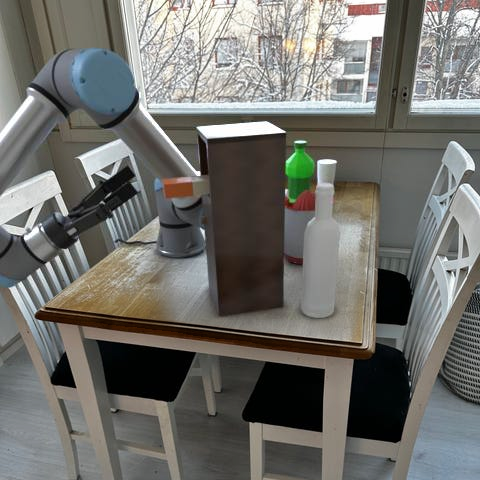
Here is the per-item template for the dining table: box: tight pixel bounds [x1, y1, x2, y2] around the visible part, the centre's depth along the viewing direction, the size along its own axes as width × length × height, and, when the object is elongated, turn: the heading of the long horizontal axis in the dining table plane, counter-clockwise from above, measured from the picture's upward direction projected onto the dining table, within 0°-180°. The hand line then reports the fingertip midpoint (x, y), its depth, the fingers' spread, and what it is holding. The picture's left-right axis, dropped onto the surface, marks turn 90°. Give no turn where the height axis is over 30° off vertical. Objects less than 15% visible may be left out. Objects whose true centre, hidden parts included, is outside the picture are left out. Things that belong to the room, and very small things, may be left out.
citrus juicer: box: [284, 190, 336, 265], centre depth 133 cm, size 16×17×20 cm
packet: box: [162, 175, 210, 199], centre depth 101 cm, size 22×5×3 cm, turn 103°
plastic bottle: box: [286, 140, 316, 203], centre depth 164 cm, size 10×10×25 cm
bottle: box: [300, 183, 341, 319], centre depth 104 cm, size 8×8×30 cm
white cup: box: [316, 158, 338, 186], centre depth 197 cm, size 8×8×10 cm
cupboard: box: [196, 121, 287, 317], centre depth 107 cm, size 17×14×40 cm
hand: (132, 178), depth 97 cm, fingers open, 13 cm apart
